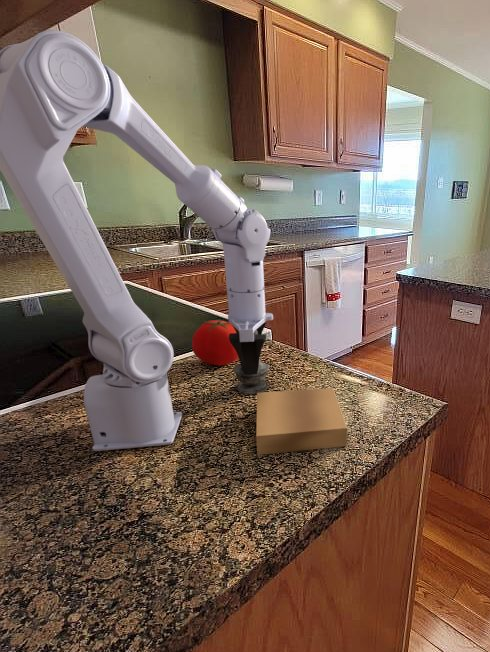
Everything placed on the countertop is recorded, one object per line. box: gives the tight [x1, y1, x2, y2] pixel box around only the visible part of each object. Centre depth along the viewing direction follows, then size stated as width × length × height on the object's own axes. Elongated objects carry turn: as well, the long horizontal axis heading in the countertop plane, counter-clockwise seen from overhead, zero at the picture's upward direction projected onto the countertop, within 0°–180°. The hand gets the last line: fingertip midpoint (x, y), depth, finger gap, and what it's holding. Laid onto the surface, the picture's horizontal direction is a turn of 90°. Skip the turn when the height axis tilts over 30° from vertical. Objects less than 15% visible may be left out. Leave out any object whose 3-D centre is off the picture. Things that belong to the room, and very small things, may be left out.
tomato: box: [191, 319, 239, 367], centre depth 77 cm, size 9×10×8 cm
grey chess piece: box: [232, 329, 270, 395], centre depth 67 cm, size 6×6×12 cm
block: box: [255, 387, 348, 456], centre depth 58 cm, size 12×12×3 cm
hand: (251, 366), depth 68 cm, fingers open, 5 cm apart
